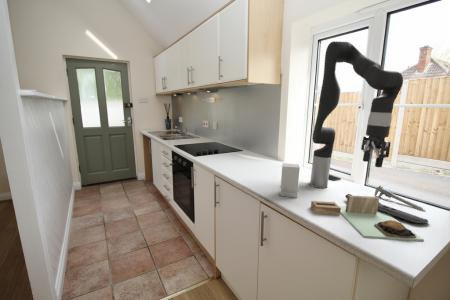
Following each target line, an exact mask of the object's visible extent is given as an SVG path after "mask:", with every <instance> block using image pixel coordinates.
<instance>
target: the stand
mask: <svg viewBox="0 0 450 300" xmlns="http://www.w3.org/2000/svg"><path fill="white" fill-rule="evenodd" d="M339 206H340V205H338V204H337V203H336V202H335V201H322V200H321V201H319V200H317V201H316V200H311V203H310V208H311V209H312V211H313V212H314V214H317V215H319V214H320V215H333V216H340V215H341V213H340V210H341V208H340V207H339Z"/></svg>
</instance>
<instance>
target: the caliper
mask: <svg viewBox="0 0 450 300" xmlns="http://www.w3.org/2000/svg"><path fill="white" fill-rule="evenodd" d="M378 193H379V195H378ZM377 195H378V198H381V197H382V196H383V195H384V196H385V197H387V198H389V199H391V198H393V199H395V200H396V201H399V202H401V203H404V204H405V205H407V206H410V207H412V208H413V209H416V210H419V211H422V212H427V211H426V209H424V207H422V206H420V205H418V204H416V203H413V202H411V201H409V200H407V199H405V198H403V197H401V196H398V195H396V194H394V193H393V192H391V191H389V190H387V189H385V188H384V186H381V185H379V186H377V187H376V189H375V192H374V197H377Z"/></svg>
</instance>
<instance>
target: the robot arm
mask: <svg viewBox="0 0 450 300" xmlns="http://www.w3.org/2000/svg"><path fill="white" fill-rule="evenodd" d="M325 50H326V51H325V55H324V63H323V64H324V66H323V67H324V68H323V76H322V84H321V89H320V93H319V102H318V108H317V109H318V110H317V114H316V115H317V116H316V119H315V123H314V128H313V131H312V142H313V143H314V144H319V145H324V146H322V147H321V148H317V149H315V150H314V151H313V156H312V164H311V173H310V181H309V185H311V186H312V187H315V188H320V189H325V188H327V187H328V183H329V179H328V178H329V174H330V171H331V170H330V168H331V162H332V155H333V150H334V144H335V139H336V130H335V128H333V127H325V126H324V123H325V121H326V119H327V118H328V117H329V116H330V115H331V114H332V112H333V111H334V110H335V109H336V107H338V104H339V103H340V97H341V87H340V86H341V85H340V84H339V80H338V78H337V74H336V68H337V63H338V64H339V63H346V64H349V65H352V69H353V71H354V73H355V74H356V75H358V76H360V77H361V78H362V79H364V80H365V81H366V82H367V84H368V85H369V87H370V88H371V89H374V90H377V91H382V92H381V94H380V95H379V96H376V97H374V98H373V99H372V101H371V106H370V112H369V115H368V119H367V125H366V131H365V132H366V133H365V135H366V136H363V137H362V141H361V142H362V143H361V147H360V149H361V151H362V152H363V157H362V161H363V162H366V163H367V162H370V157H371V152H372V150H373V152H374V153H375V154H376V157H375V163H374V167H375V168H382V167H383V162H384V159H385V158H389V156H390V149H391V141H386V140H385V139H386V138H388V137H389V134H390V129H391V123H392V118H393V116H392V115H393V109H394V103H395V101H396V99H397V97H398V95H399V93H400V92H401V89H402V88H403V84H404V77H403V75H402V73H401V72H399V71H393V70H385V69H383V67H382V65H381V64H380V63H378V62H376V61H375V60H373V59H371V58H369V57H367V56H366V55H365V54H364V53H362V52H361V51H360V50H359V49H358V48H357V47H356V46H355V45H354V44H352V43H351V42H349V41H331V42H329V44H328V45H327V48H326V49H325ZM323 126H324V127H323Z"/></svg>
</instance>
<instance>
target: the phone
mask: <svg viewBox="0 0 450 300" xmlns="http://www.w3.org/2000/svg"><path fill="white" fill-rule="evenodd" d="M341 179H342V178H341V177H338V176H335V175H332V174H330V173H329V178H328V181H333V182H337V181H341Z"/></svg>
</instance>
